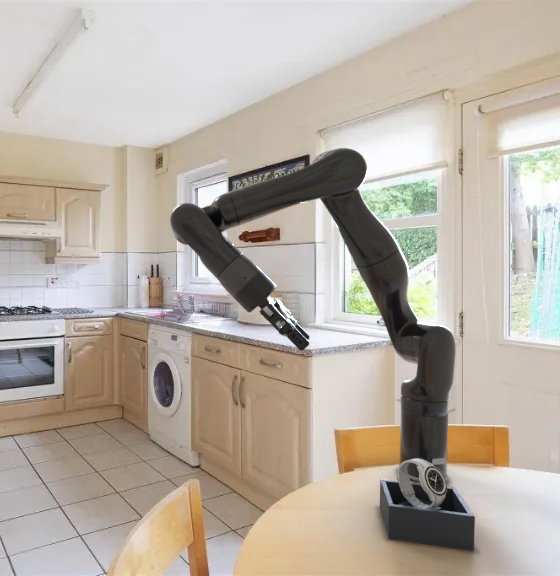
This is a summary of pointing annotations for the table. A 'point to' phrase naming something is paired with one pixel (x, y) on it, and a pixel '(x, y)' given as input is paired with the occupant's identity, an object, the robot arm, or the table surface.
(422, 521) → the box
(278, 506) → the table surface
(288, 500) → the table surface
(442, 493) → the watch
